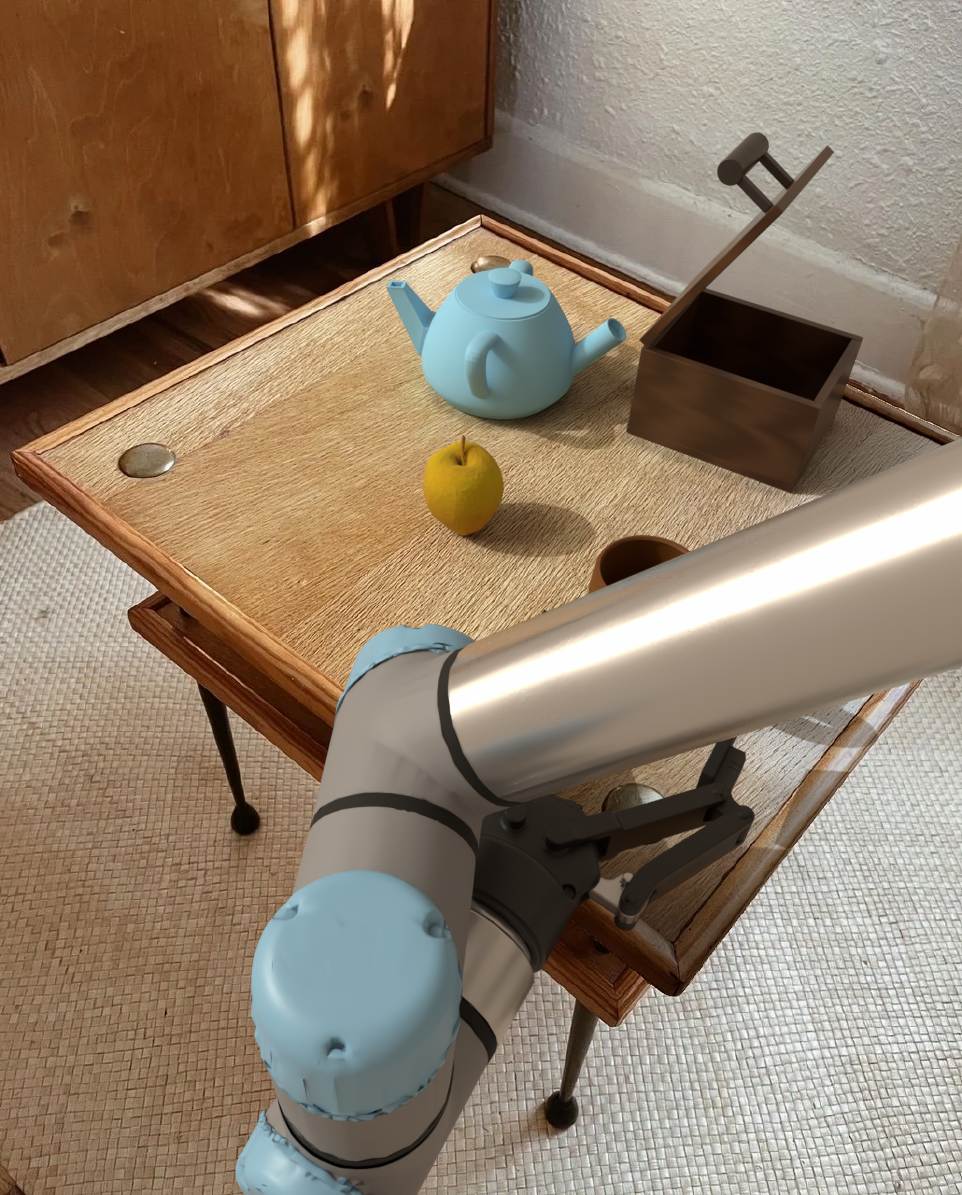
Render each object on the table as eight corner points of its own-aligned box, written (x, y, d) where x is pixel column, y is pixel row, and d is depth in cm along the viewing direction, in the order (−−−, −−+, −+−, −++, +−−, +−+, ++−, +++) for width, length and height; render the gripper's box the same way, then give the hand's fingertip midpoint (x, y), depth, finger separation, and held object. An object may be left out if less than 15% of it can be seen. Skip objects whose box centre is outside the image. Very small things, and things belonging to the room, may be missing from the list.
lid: (834, 152, 81) (783, 98, 81) (783, 212, 73) (726, 153, 73) (700, 283, 94) (656, 238, 93) (645, 347, 86) (596, 297, 86)
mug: (752, 708, 72) (787, 617, 65) (680, 766, 68) (708, 676, 61) (627, 610, 78) (647, 517, 71) (555, 658, 74) (568, 565, 67)
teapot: (485, 460, 89) (492, 348, 81) (383, 364, 99) (380, 255, 91) (621, 406, 96) (639, 297, 88) (513, 321, 105) (520, 216, 97)
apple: (466, 488, 87) (469, 410, 81) (516, 528, 83) (523, 450, 78) (406, 519, 84) (404, 441, 78) (455, 562, 80) (458, 484, 75)
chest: (834, 419, 96) (863, 337, 89) (791, 493, 88) (820, 409, 82) (679, 366, 101) (696, 285, 94) (626, 432, 93) (641, 348, 87)
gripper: (288, 859, 60) (472, 629, 73) (686, 1090, 52) (812, 785, 65) (274, 787, 54) (475, 553, 67) (717, 1033, 46) (848, 713, 59)
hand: (641, 666), depth 66 cm, fingers open, 13 cm apart
